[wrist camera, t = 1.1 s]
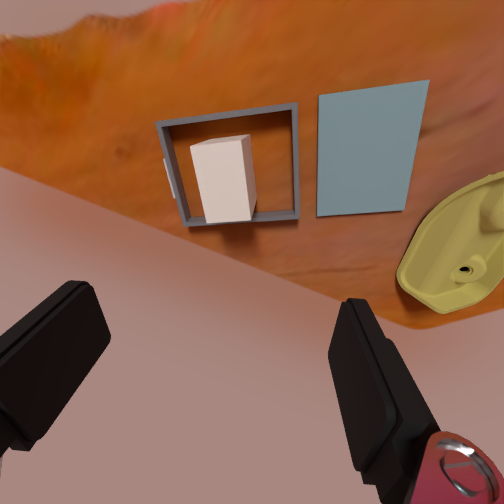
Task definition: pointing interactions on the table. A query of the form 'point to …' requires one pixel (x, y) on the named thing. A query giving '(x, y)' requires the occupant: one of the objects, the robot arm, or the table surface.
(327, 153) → the mat
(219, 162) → the block
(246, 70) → the table surface
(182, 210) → the grey rectangular frame
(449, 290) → the plastic component
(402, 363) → the robot arm
